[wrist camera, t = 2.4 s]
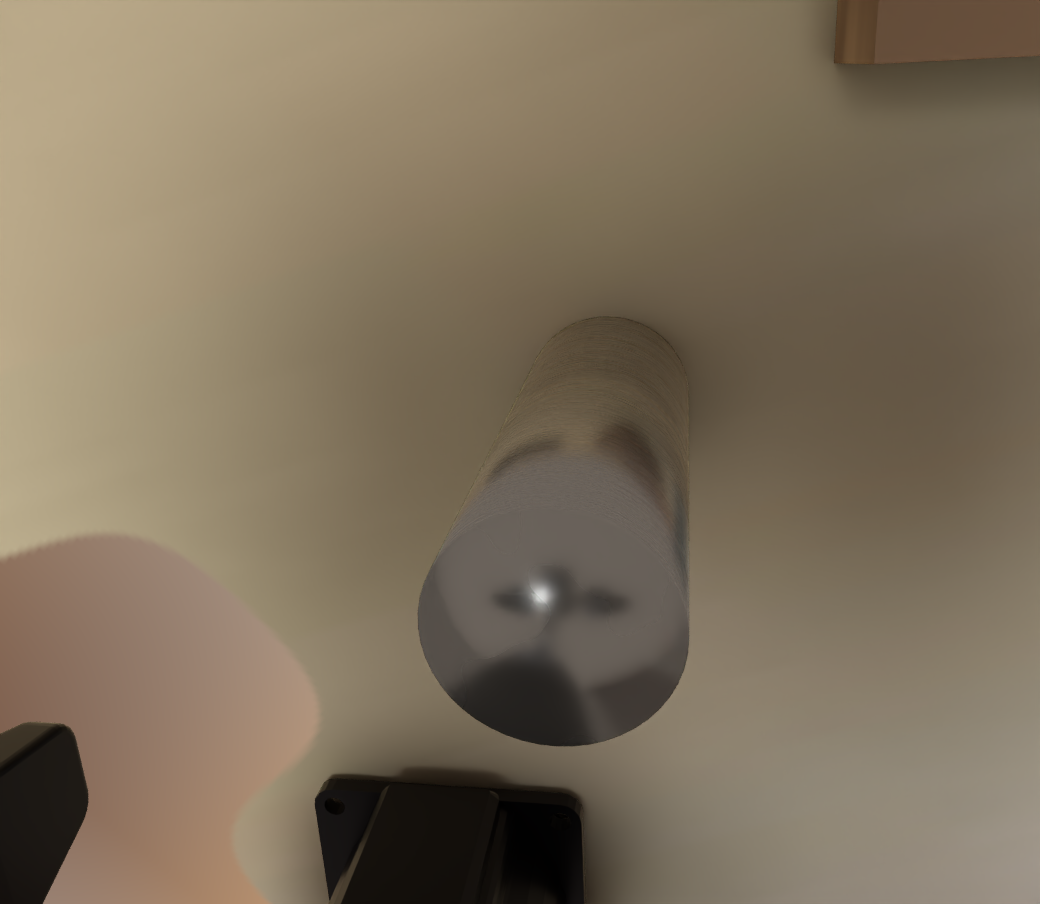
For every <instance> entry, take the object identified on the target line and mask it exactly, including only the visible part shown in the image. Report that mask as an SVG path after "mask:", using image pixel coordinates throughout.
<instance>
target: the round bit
mask: <svg viewBox="0 0 1040 904" xmlns="http://www.w3.org/2000/svg"><path fill="white" fill-rule="evenodd" d="M418 630H419V635H420V641H421V645H422V648H423V651H424V655H425V658H426V660H427V662H428V664H429V666H430V668H431V671H432V673H433V674H434V676H435V677H436V679H437V680H438V682H439V683H440V685H441V686H442V688H443V689H444V690H445V691H446V692H447V694H448V695H449V696H450V697H451V698H452V699H453V700H454V701H455V702H456V703H457V704H458V705H459V706H460V707H461V708H462V709H463V710H465V711H466V712H467V713H468V714H470V715H471V716H472V717H474V718H475V719H476V720H478V721H480V722H481V723H483V724H485V725H486V726H488V727H490V728H492V729H494V730H496V731H498V732H500V733H503V734H505V735H507V736H510V737H513V738H516V739H519V740H522V741H526V742H531V743H535V744H541V745H550V746H580V745H589V744H593V743H598V742H602V741H606V740H609V739H612V738H615V737H618V736H620V735H622V734H624V733H626V732H628V731H630V730H632V729H634V728H636V727H638V726H639V725H641V724H642V723H643V722H645V721H646V720H648V719H649V718H650V717H651V716H652V715H654V714H655V713H656V712H657V711H658V710H659V709H660V708H661V707H662V706H663V705H664V703H665V702H666V701H667V700H668V699H669V697H670V696H671V694H672V693H673V691H674V689H675V688H676V686H677V684H678V682H679V680H680V678H681V675H682V673H683V671H684V667H685V663H686V659H687V655H688V645H689V391H688V382H687V377H686V373H685V370H684V367H683V365H682V363H681V361H680V359H679V357H678V355H677V354H676V353H675V351H674V350H673V348H672V347H671V346H670V345H669V344H668V343H667V341H666V340H665V339H663V338H662V337H661V336H660V335H659V334H657V333H656V332H655V331H653V330H651V329H650V328H648V327H646V326H644V325H642V324H640V323H638V322H634V321H631V320H628V319H623V318H618V317H597V318H591V319H587V320H583V321H580V322H577V323H575V324H573V325H571V326H569V327H567V328H565V329H563V330H562V331H561V332H559V333H558V334H556V335H555V336H554V337H553V338H552V339H551V340H550V341H549V342H548V343H547V344H546V345H545V347H544V348H543V349H542V351H541V352H540V354H539V355H538V357H537V359H536V361H535V363H534V365H533V367H532V369H531V371H530V373H529V375H528V377H527V379H526V381H525V383H524V385H523V387H522V389H521V390H520V392H519V394H518V396H517V398H516V400H515V402H514V404H513V406H512V408H511V410H510V412H509V414H508V416H507V418H506V420H505V422H504V424H503V426H502V428H501V430H500V432H499V434H498V436H497V438H496V440H495V442H494V444H493V446H492V448H491V450H490V452H489V454H488V456H487V458H486V460H485V462H484V464H483V466H482V468H481V470H480V472H479V474H478V476H477V478H476V480H475V482H474V484H473V486H472V488H471V490H470V491H469V493H468V495H467V497H466V499H465V501H464V503H463V505H462V507H461V509H460V511H459V513H458V515H457V517H456V519H455V521H454V523H453V525H452V527H451V529H450V531H449V533H448V535H447V537H446V539H445V541H444V543H443V545H442V547H441V549H440V551H439V553H438V555H437V557H436V559H435V561H434V563H433V565H432V567H431V569H430V571H429V573H428V575H427V577H426V580H425V582H424V585H423V588H422V592H421V595H420V600H419V608H418Z"/></svg>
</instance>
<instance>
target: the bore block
mask: <svg viewBox="0 0 1040 904" xmlns="http://www.w3.org/2000/svg"><path fill="white" fill-rule="evenodd" d="M1023 56H1040V0H838V5H837V22H836V39H835V56H834V63H849V64H886V63H906V62H926V61H945V60H965V59H984V58H1004V57H1023Z"/></svg>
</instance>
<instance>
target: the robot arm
mask: <svg viewBox="0 0 1040 904" xmlns="http://www.w3.org/2000/svg"><path fill="white" fill-rule="evenodd" d="M332 798H337V799H339V800H340V801H342V802H343V803H342V804H341V803H337V802H335V801H334V800H333V799H332ZM87 807H88V789H87V785H86V780H85V776H84V771H83V768H82V763H81V759H80V754H79V750H78V746H77V741H76V738H75V735H74V733H73V731H72V730H71V728H70V727H68V726H66V725H64V724H61V723H45V722H27V723H23V724H20V725H18V726H16V727H14V728H12V729H10V730H8V731H5V732H3V733H1V734H0V904H43V902H44V900H45V898H46V896H47V894H48V892H49V890H50V888H51V886H52V884H53V882H54V879H55V877H56V875H57V873H58V871H59V869H60V867H61V865H62V863H63V861H64V859H65V857H66V855H67V853H68V851H69V849H70V847H71V845H72V843H73V841H74V839H75V837H76V835H77V833H78V831H79V829H80V827H81V825H82V823H83V820H84V818H85V815H86V811H87ZM315 809H316V815H317V822H318V828H319V835H320V841H321V848H322V855H323V861H324V868H325V874H326V881H327V887H328V894H329V900H330V902H329V904H586V880H585V851H584V821H583V809H582V806H581V804H580V803H579V801H578V800H577V799H576V798H574V797H572V796H570V795H568V794H563V793H552V792H537V791H522V790H506V789H491V788H476V787H460V786H445V785H430V784H414V783H399V782H384V781H368V780H353V779H338V778H337V779H330V780H328V781H326V782H324V784H323V785H322V787H321V789H320V790H319V792H318V794H317V796H316V798H315ZM557 813H561V814H565V815H566V816H568V817H569V818H566V819H561V818H557V817H556V816H555V815H554V814H557Z"/></svg>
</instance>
